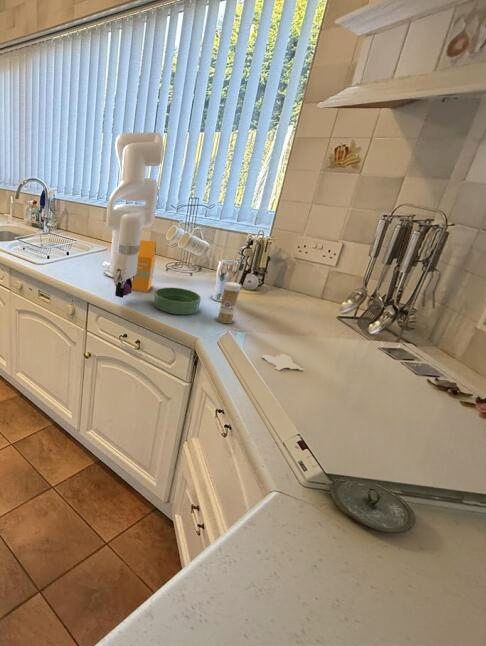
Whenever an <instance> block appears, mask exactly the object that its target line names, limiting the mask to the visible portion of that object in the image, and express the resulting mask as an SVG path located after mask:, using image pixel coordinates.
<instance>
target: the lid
mask: <svg viewBox="0 0 486 646" xmlns="http://www.w3.org/2000/svg"><path fill="white" fill-rule="evenodd" d="M333 480H334V479H333ZM333 480H332V481H331V483H330V485H329V494H330V497H331V500H332V501H333V503H334V505H335V506H336V507H337V508H338V510H340V511H341V512H342V514H345V515H346V516H348V517H349V518H350V519H352V520H354V521H355V522H357V523H359V524H361V525H363V526H365V527H368V528H370V529H372V530H376V531H378V532H382V533H390V534H400V533H406V532H408V531H411V530H412V529H413V528H414V527H415V526H416V522H417V518H416V515H415V512H414V510H413V508H411V506H410V505H409V504H408V503H407V501H405V500H404V499H403V498H402V497H400V495H398V493H396V492H395V491H392V490H391V489H389V488H387V487H385V486H384V485H382V484H380V485H378V484H379V483H378V484H373V483H371V484H370V483H352V482H347V481H339V480H336V481H335V480H334V481H333Z"/></svg>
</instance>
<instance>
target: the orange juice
mask: <svg viewBox="0 0 486 646" xmlns="http://www.w3.org/2000/svg"><path fill="white" fill-rule="evenodd" d="M156 256H157V243H156V241H151V240H142V239H140V247H139V254H138V265H137V272H136V275H135V276H134V279H133V283H131V284H132V290H133V291H138V292H143V293H148V292H149V291H150V290H151V288H152V283H153V277H154V271H155V262H156ZM132 290H131V291H132Z"/></svg>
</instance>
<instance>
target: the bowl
mask: <svg viewBox="0 0 486 646" xmlns="http://www.w3.org/2000/svg"><path fill="white" fill-rule="evenodd" d="M201 300H202V299H201V295H199V293H197V292H195V291H192V290H191V289H185V288H182V287H181V288H180V287H161V288H158V289H156V290H155V291H154V297H153V306H154V307H155V309H158V310H160V311H162V312H166V313H169V314H175V315H191V314H195V313H197V312H198V311H199V309H200V304H201Z"/></svg>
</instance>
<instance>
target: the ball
mask: <svg viewBox="0 0 486 646" xmlns="http://www.w3.org/2000/svg"><path fill="white" fill-rule="evenodd" d="M120 283H121V284H122V282H120ZM123 288H124V296H123V297H126V296H128V295H130V294H131V293H130V290H131V288H130V286H129V285H128V284H127V283H124V287H123ZM131 291H132V290H131ZM129 293H130V294H129Z"/></svg>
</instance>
